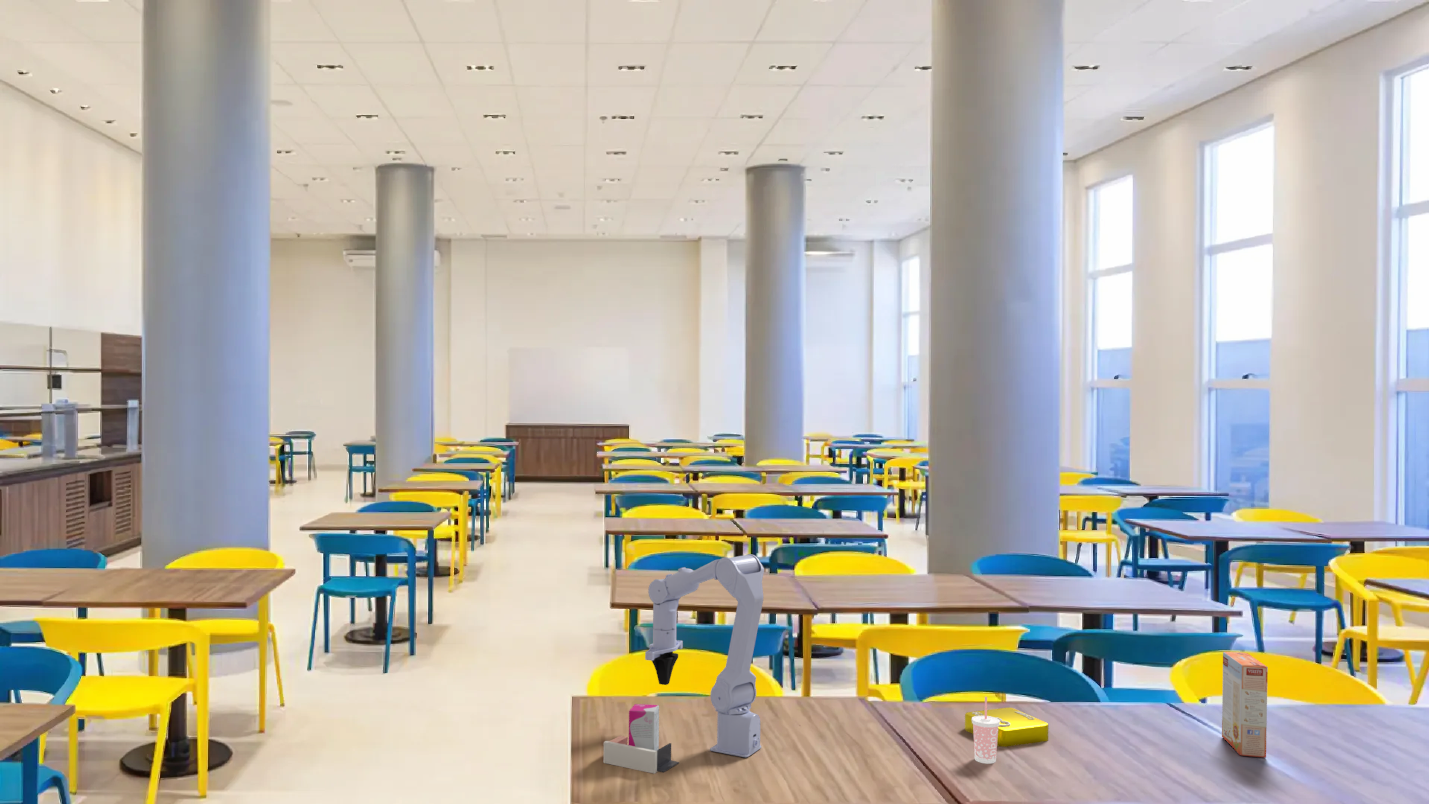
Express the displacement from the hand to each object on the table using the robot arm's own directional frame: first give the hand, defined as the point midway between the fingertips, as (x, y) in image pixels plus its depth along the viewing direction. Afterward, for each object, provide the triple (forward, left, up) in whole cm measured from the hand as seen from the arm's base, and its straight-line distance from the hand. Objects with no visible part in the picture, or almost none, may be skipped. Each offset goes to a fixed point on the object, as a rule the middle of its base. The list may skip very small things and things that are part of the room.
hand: (664, 683), depth 242 cm
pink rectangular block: (-2, +23, -10) cm, 26 cm away
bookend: (-15, +23, -10) cm, 29 cm away
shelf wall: (-8, +28, -10) cm, 30 cm away
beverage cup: (-74, -16, -11) cm, 76 cm away
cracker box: (-125, -55, -11) cm, 137 cm away
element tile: (-74, -37, -11) cm, 84 cm away
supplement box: (-8, +22, -11) cm, 25 cm away
